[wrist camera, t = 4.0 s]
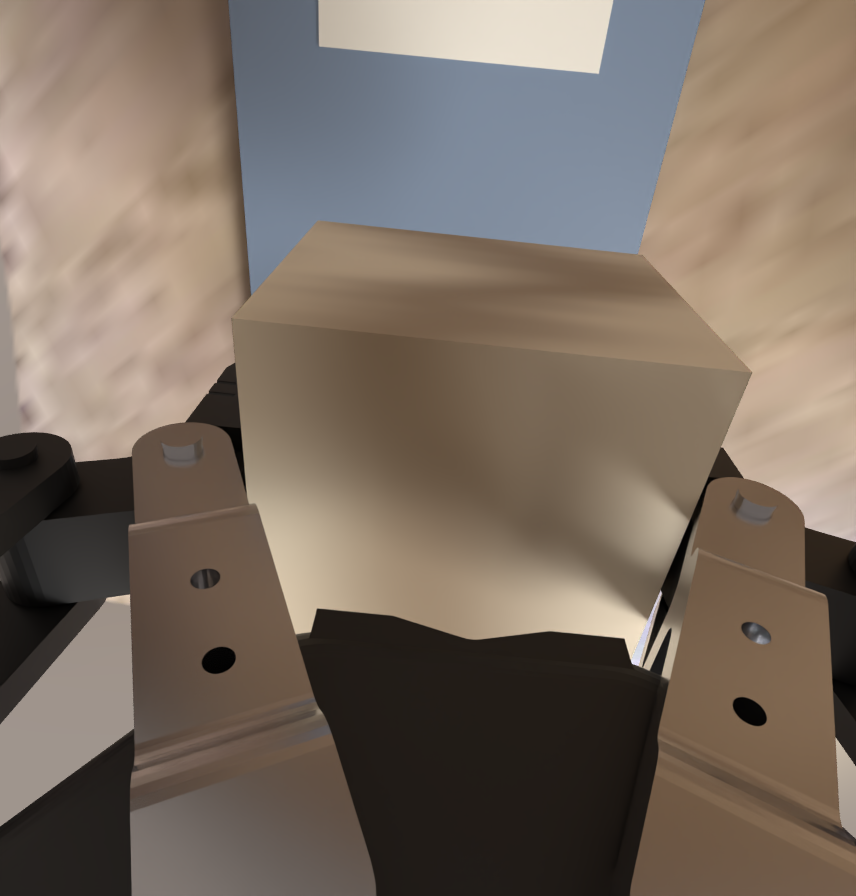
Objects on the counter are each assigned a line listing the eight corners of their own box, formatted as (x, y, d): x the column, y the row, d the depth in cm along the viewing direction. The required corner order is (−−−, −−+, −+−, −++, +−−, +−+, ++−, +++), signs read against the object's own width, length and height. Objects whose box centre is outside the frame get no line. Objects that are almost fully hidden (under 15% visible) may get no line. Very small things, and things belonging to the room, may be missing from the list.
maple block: (642, 255, 11) (752, 372, 7) (570, 508, 14) (616, 693, 10) (317, 220, 11) (231, 318, 7) (319, 483, 14) (261, 659, 10)
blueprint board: (813, -465, 13) (841, -505, 12) (564, 499, 27) (569, 515, 26) (199, -541, 13) (181, -588, 12) (271, 476, 27) (265, 491, 26)
